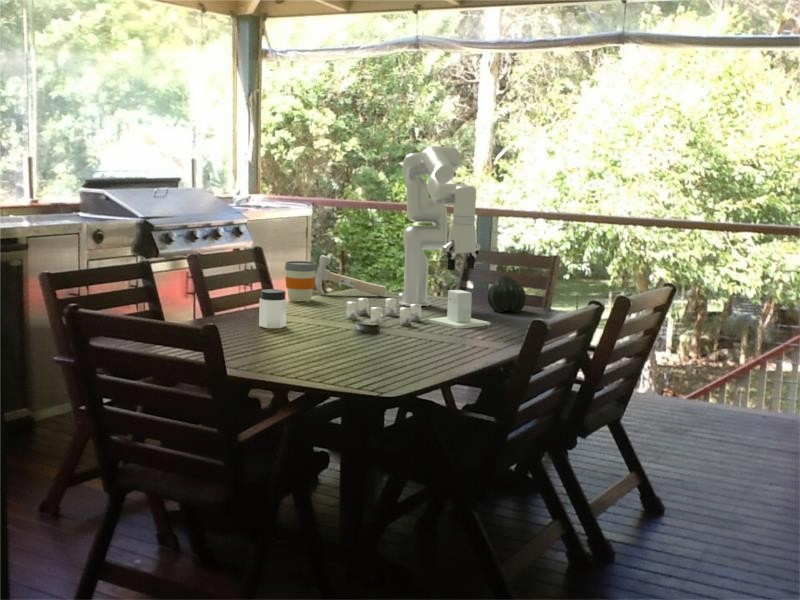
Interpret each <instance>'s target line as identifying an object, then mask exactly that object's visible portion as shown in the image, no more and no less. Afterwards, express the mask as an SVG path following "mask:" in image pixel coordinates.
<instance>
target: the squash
mask: <svg viewBox="0 0 800 600" xmlns="http://www.w3.org/2000/svg"><path fill="white" fill-rule="evenodd" d="M486 294H487V297H486V298H487V302H488V305H489V307H490V308H491V309H492V310H493V311H495V310H496V311H495V312H499V313H504V312H507V311H510V312H512V313H519V312H521V311H522V310H523V308H524V307H525V304H526V301H527V299H526V297H527V295H526V292H525V289H524V287H523V286H522V285H521V283H520V282H519V281H518V280H516V279H514V278H513V277H511V276H509V275H507V274H502V275H500V276H499V277H497V279H496V280H495V281H494V282H493V283H492V284H491V285H490V286H489V288H488V290H487V293H486Z"/></svg>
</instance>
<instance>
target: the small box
mask: <svg viewBox="0 0 800 600" xmlns="http://www.w3.org/2000/svg"><path fill="white" fill-rule="evenodd" d="M472 296H473V292H470V291H466V290H462V289H449V290H448V291H447V309H446V311H447V312H446V313H447V314H446V317H447V319H449V320H452V321H455V322H471V318H472V303H473V302H472V299H473V297H472Z"/></svg>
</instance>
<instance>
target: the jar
mask: <svg viewBox="0 0 800 600" xmlns="http://www.w3.org/2000/svg"><path fill="white" fill-rule="evenodd" d="M258 306H259V309H258V311H259V312H258V313H259V314H258V326H259V327H261V328H264V329H281V328H285V327H286V326H287V298H286V291H285V290H283V289H276V288H275V289H273V288H269V289H267V288H266V289H262V290H260V297H259V305H258Z"/></svg>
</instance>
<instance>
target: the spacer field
mask: <svg viewBox="0 0 800 600" xmlns="http://www.w3.org/2000/svg"><path fill="white" fill-rule="evenodd" d="M369 302H370V299H369V298H367V297H359V298H357V301H354V300H353V301H352V300H351V301H349V300H348V301H346V305H345V307H346V308H345V310H346V311H345V319H346V320H350V321H351V320H352V321H353V320H358V316H362V317H365V316H366V315H367V316H369V311H370V318H369V319H370V321H374V322H377V323H379V324H380V325H381V326H382V325H383V307H381V306H372V307H370V310H369V306H370V303H369ZM384 306H385V307H384V309H385V310H384V316H386V315H388V316H387V317H395V315H397V299H396V298H394V297H393V298H391V297H387V298H386V297H385V305H384ZM367 316H366V317H367ZM370 321H369V322H370ZM412 321H414V322H413V323H420V322H421V321H422V307H421V304H410V306H402V307H399V321H398V322H399V324H398V325H399V326H400V325H401V327H411V326H412ZM419 321H420V322H419Z"/></svg>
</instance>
